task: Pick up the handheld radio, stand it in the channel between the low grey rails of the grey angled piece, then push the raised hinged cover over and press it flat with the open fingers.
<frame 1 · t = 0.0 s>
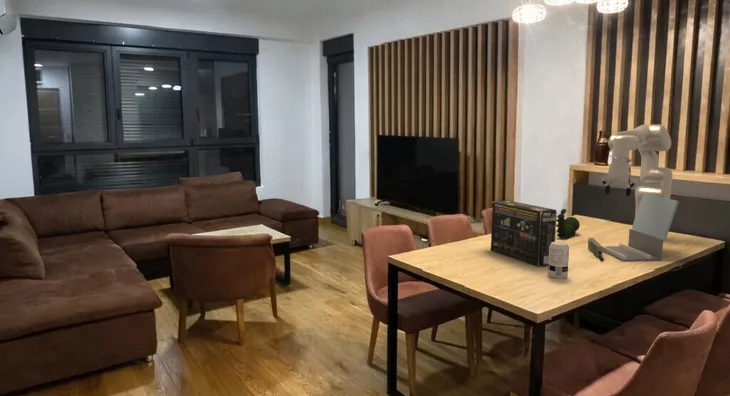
hand: (617, 194, 257), 31 cm above the table, tool pointing down, fingers open, 9 cm apart
duct cover: (654, 215, 261), point 20 cm above the table, hinge at 105.0°
supplement can: (557, 276, 226), on the table
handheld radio: (596, 255, 262), on the table
grey angled piece: (622, 254, 263), on the table
toy figurine: (567, 236, 304), on the table
router box: (520, 257, 259), on the table
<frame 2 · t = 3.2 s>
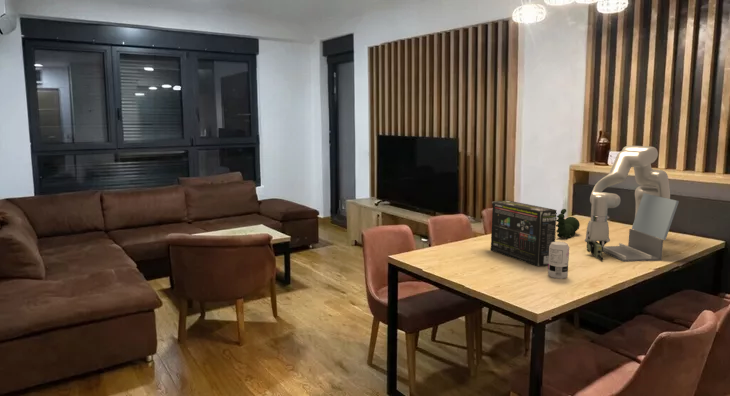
hand: (596, 253, 262), 1 cm above the table, tool pointing down, fingers closed on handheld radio, 3 cm apart
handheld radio: (594, 255, 262), on the table, touching gripper
everything else where it was.
when the fingers open (2 cm above the table, at t = 9.2 s): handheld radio stays where it is, resting on grey angled piece.
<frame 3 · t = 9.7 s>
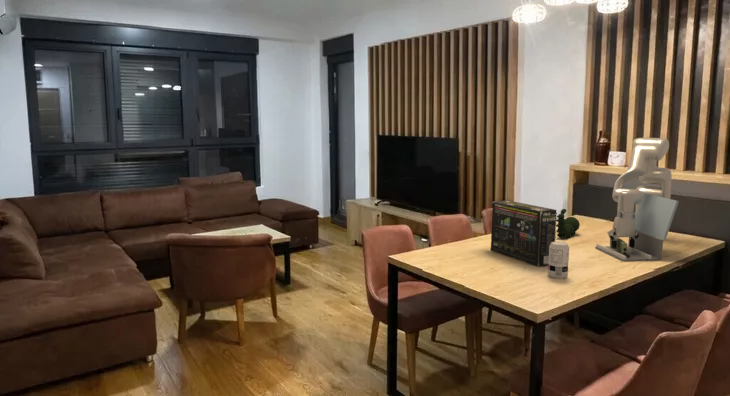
hand: (622, 247, 262), 3 cm above the table, tool pointing down, fingers open, 9 cm apart
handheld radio: (619, 252, 263), point 1 cm above the table, touching grey angled piece
everything else where it was.
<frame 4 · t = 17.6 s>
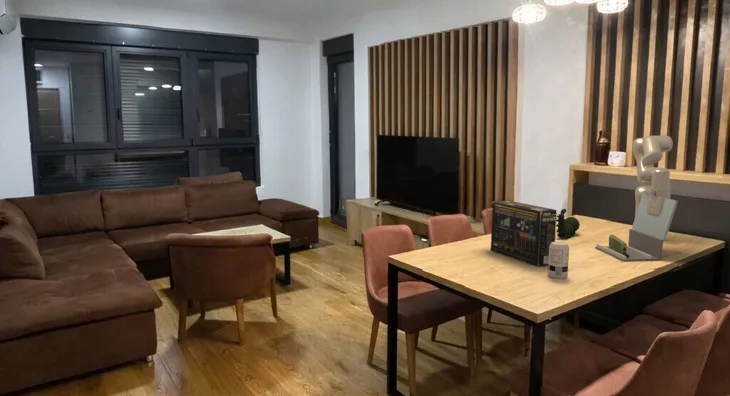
hand: (656, 226, 262), 14 cm above the table, tool pointing down, fingers open, 9 cm apart
duct cover: (653, 215, 261), point 20 cm above the table, hinge at 103.8°, touching gripper
everything else where it was.
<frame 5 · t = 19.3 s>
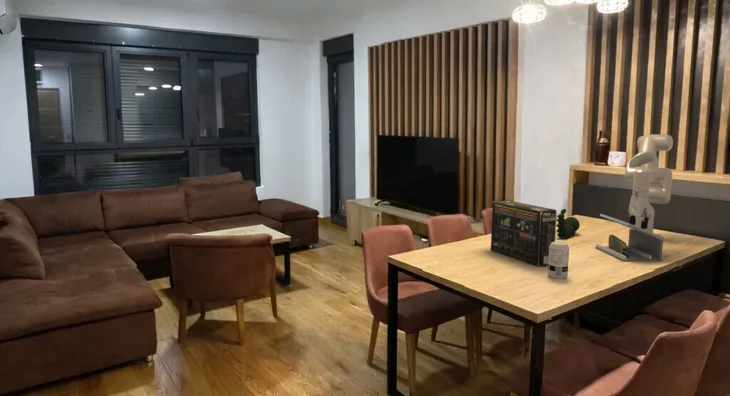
hand: (638, 226, 261), 14 cm above the table, tool pointing down, fingers open, 9 cm apart
duct cover: (630, 226, 261), point 15 cm above the table, hinge at 21.9°, touching gripper
everything else where it was.
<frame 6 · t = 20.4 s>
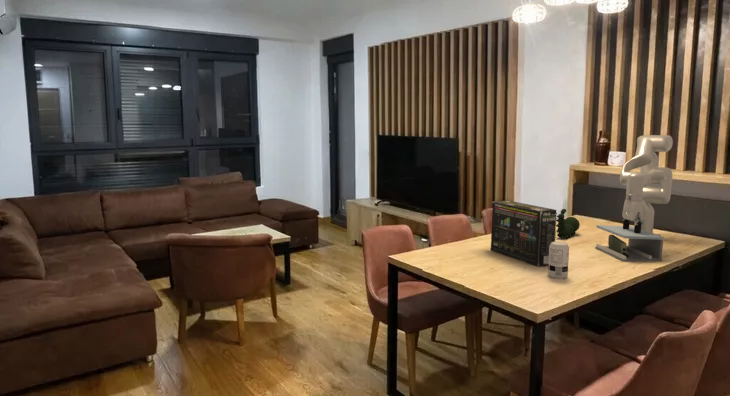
hand: (631, 230, 261), 12 cm above the table, tool pointing down, fingers open, 9 cm apart
duct cover: (628, 232, 261), point 12 cm above the table, hinge at 3.3°
everything else where it was.
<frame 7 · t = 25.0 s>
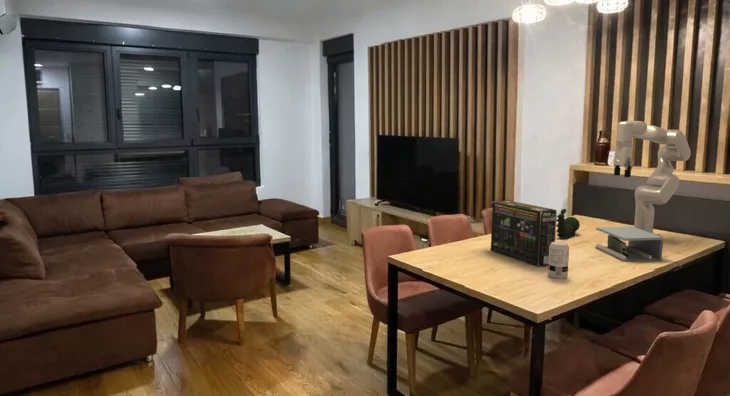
hand: (622, 176, 278), 38 cm above the table, tool pointing down, fingers open, 9 cm apart
duct cover: (628, 233, 261), point 11 cm above the table, hinge at -0.2°
everything else where it was.
at the end: duct cover at +0° (first picture: +105°); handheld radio inside the target area on the grey angled piece (2.1 cm from its centre), point 0.8 cm above the grey angled piece's base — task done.
